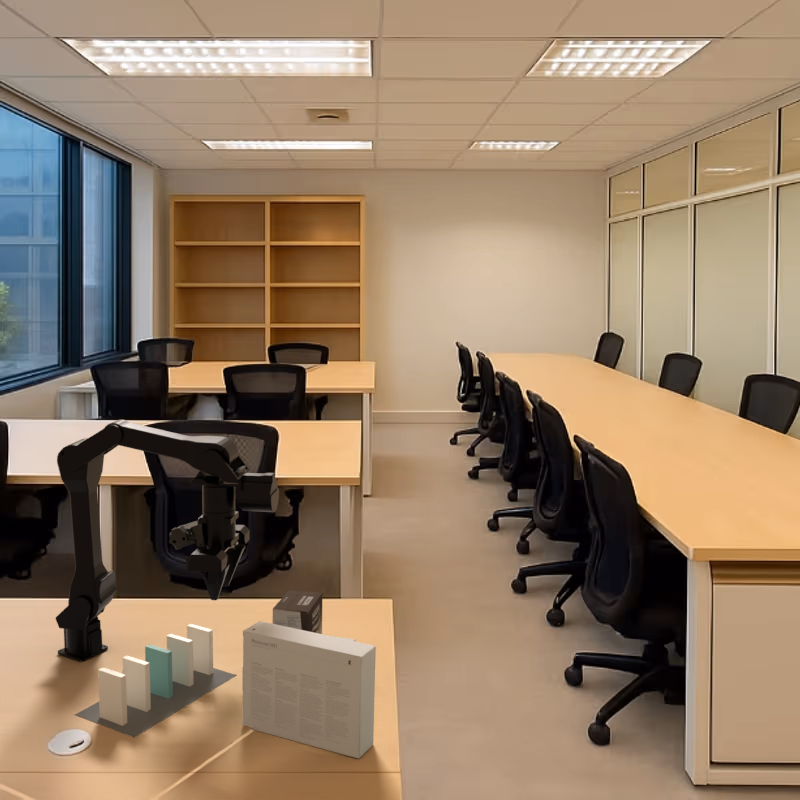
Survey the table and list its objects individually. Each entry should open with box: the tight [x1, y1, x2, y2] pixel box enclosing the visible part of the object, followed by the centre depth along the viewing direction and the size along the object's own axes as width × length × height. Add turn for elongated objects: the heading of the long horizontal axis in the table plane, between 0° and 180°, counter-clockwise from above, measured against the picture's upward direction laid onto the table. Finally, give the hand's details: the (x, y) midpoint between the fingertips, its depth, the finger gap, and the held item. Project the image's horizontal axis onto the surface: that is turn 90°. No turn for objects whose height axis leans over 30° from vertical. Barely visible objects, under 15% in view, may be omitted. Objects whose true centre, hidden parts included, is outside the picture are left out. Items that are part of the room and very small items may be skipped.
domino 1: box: [97, 667, 127, 726], centre depth 139 cm, size 5×1×8 cm, turn 61°
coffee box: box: [272, 590, 324, 634], centre depth 150 cm, size 9×6×16 cm
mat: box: [74, 667, 237, 738], centre depth 149 cm, size 13×24×1 cm, turn 151°
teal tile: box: [144, 644, 173, 699], centre depth 148 cm, size 5×1×8 cm, turn 61°
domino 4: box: [186, 623, 214, 675], centre depth 156 cm, size 5×1×8 cm, turn 61°
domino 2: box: [121, 655, 151, 712], centre depth 144 cm, size 5×1×8 cm, turn 61°
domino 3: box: [166, 633, 194, 687], centre depth 152 cm, size 5×1×8 cm, turn 61°
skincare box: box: [241, 621, 377, 759], centre depth 136 cm, size 21×5×16 cm, turn 65°
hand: (220, 592), depth 160 cm, fingers open, 6 cm apart
